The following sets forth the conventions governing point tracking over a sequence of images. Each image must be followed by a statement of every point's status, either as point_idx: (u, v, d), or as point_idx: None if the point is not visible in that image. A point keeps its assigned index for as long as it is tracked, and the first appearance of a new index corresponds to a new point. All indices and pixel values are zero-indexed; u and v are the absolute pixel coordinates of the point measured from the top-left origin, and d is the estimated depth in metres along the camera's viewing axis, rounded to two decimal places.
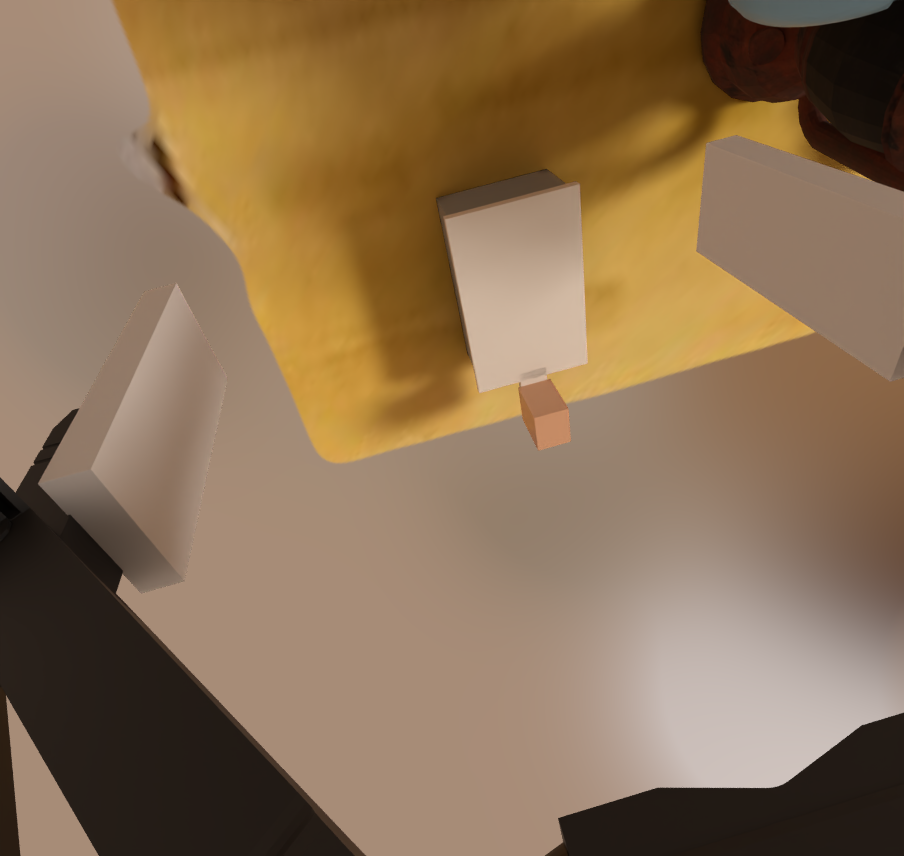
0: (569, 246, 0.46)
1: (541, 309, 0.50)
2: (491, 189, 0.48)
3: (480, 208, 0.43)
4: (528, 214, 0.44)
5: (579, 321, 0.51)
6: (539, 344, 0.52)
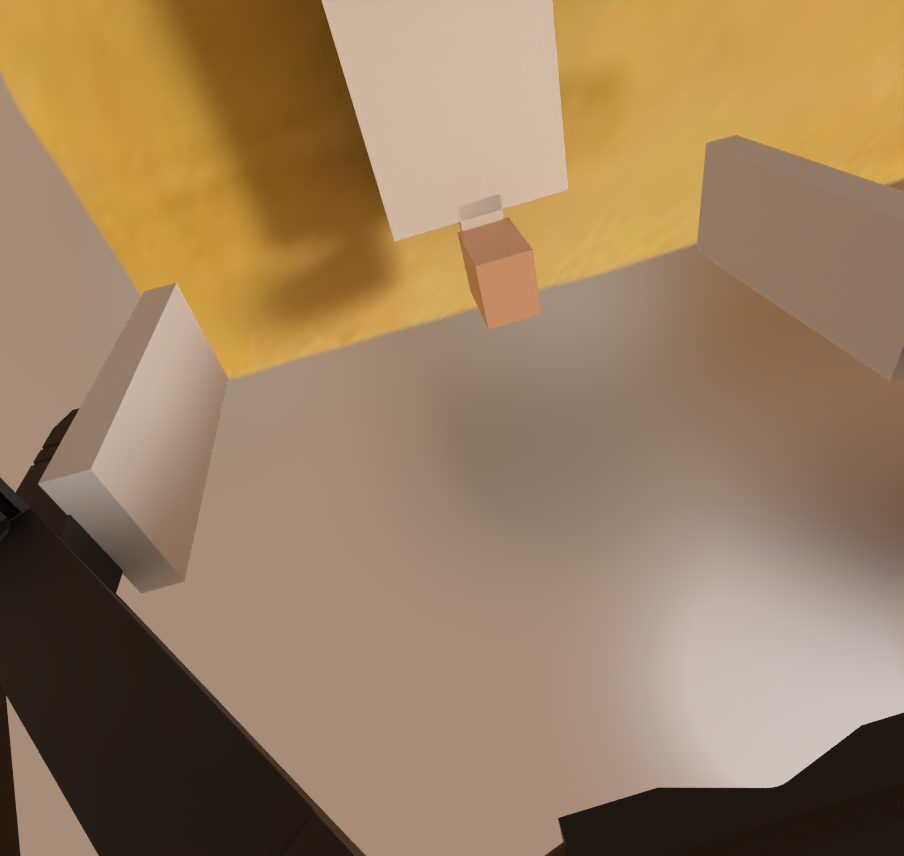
0: None
1: (483, 75, 0.29)
2: None
3: None
4: None
5: (550, 103, 0.30)
6: (485, 149, 0.31)
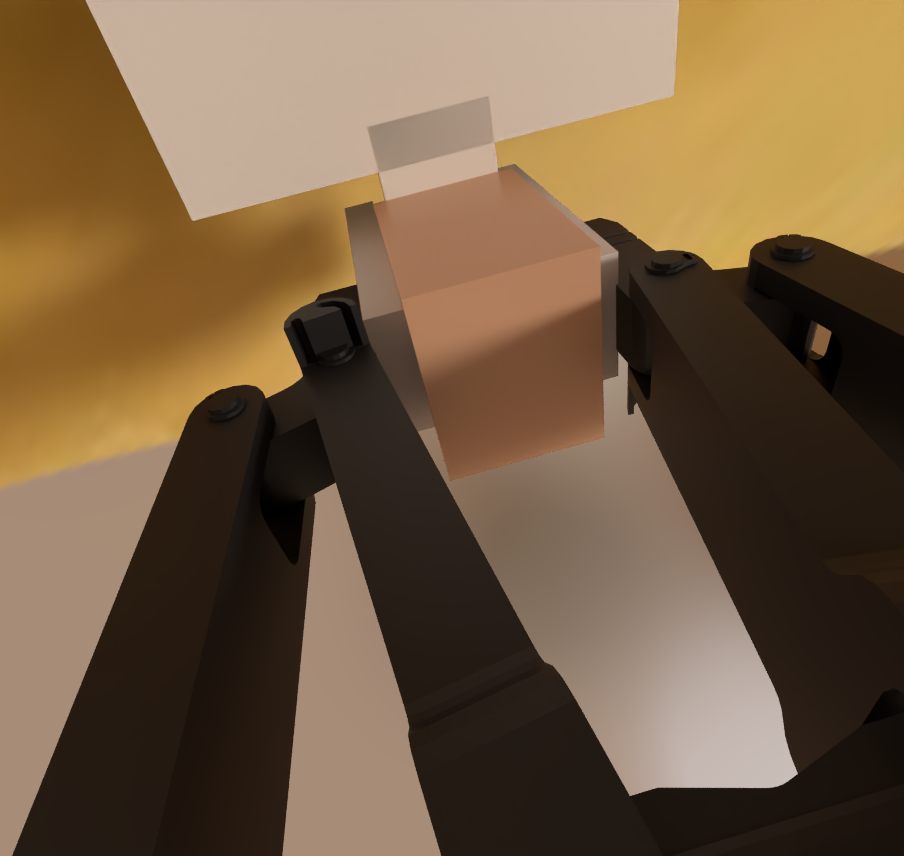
0: None
1: None
2: None
3: None
4: None
5: None
6: None
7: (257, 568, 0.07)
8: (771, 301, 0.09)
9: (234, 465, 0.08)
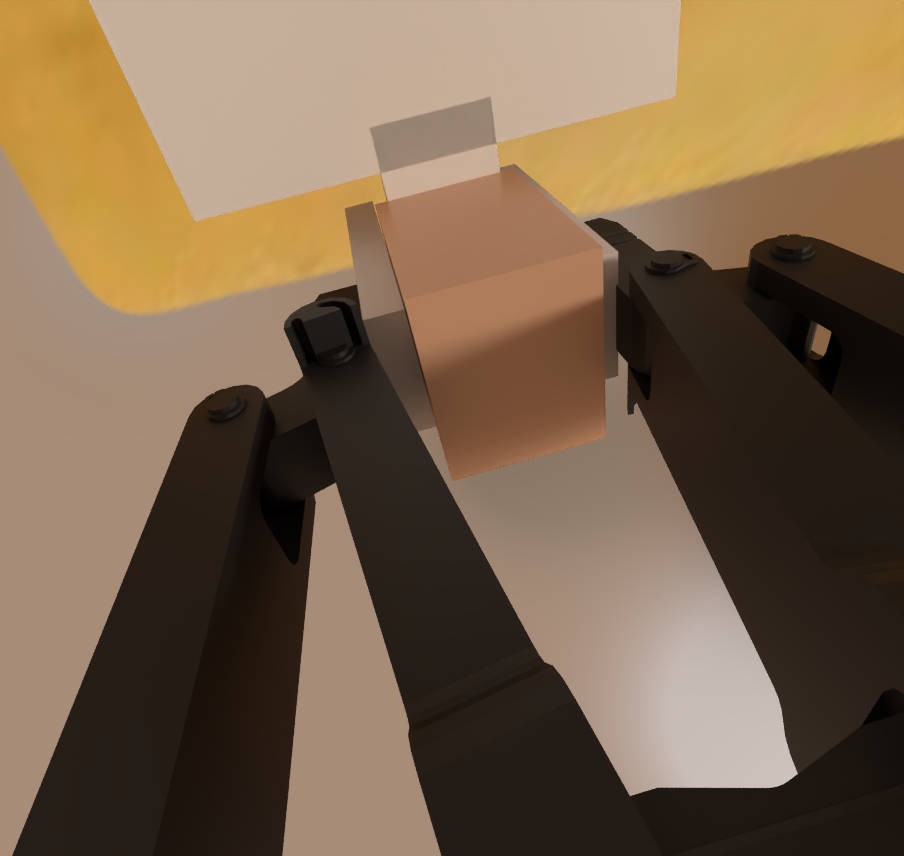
0: None
1: None
2: None
3: None
4: None
5: None
6: None
7: (257, 568, 0.07)
8: (772, 301, 0.09)
9: (234, 465, 0.08)
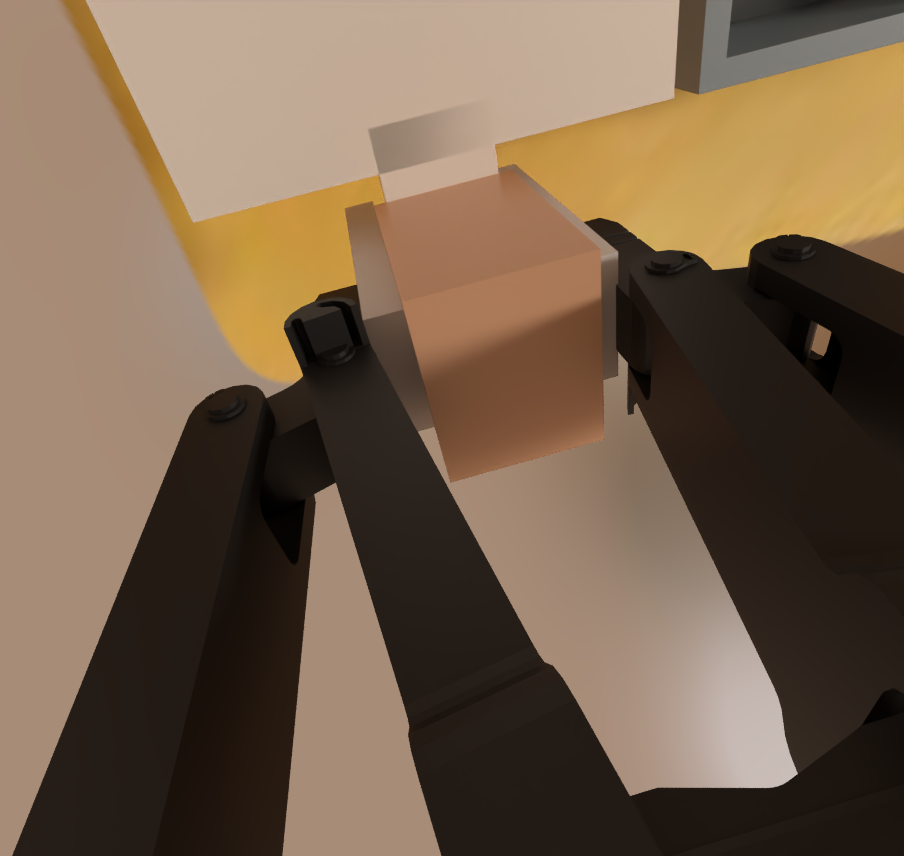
0: None
1: None
2: None
3: None
4: None
5: None
6: None
7: (257, 568, 0.07)
8: (771, 301, 0.09)
9: (234, 465, 0.08)
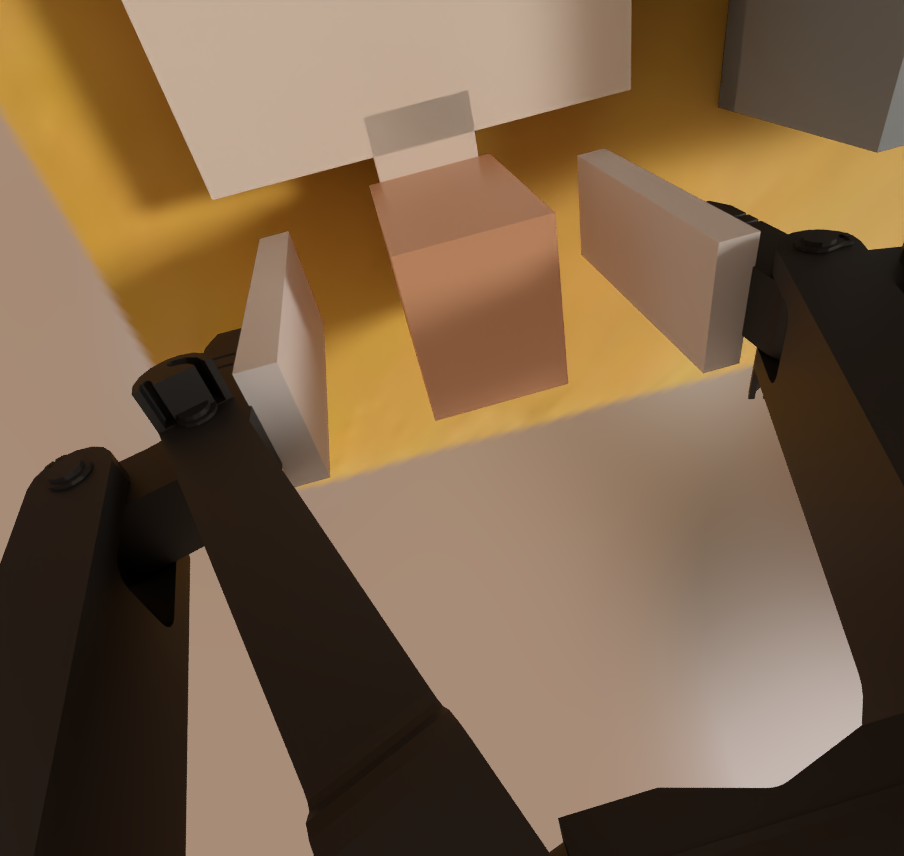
0: None
1: None
2: None
3: None
4: None
5: None
6: None
7: (121, 637, 0.07)
8: None
9: (82, 533, 0.07)
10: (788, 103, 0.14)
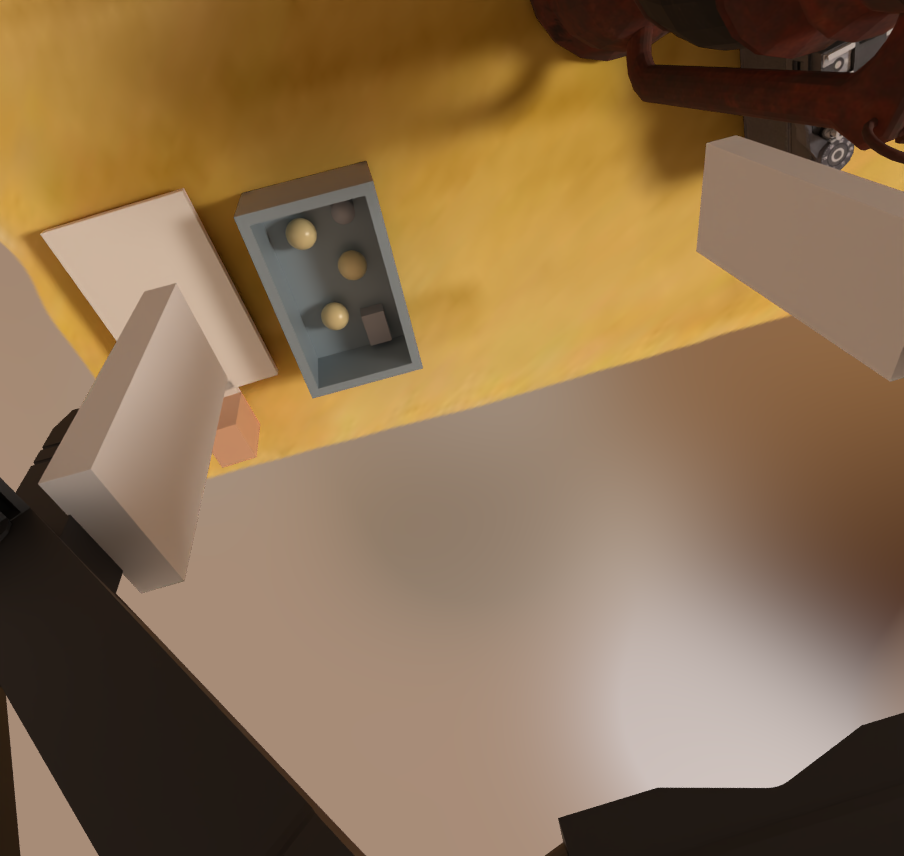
0: (200, 255, 0.44)
1: (198, 321, 0.47)
2: (299, 183, 0.43)
3: (80, 220, 0.41)
4: (136, 224, 0.42)
5: (248, 332, 0.49)
6: None
7: None
8: None
9: None
10: None
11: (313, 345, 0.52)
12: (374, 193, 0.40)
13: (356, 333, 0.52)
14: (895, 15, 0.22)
